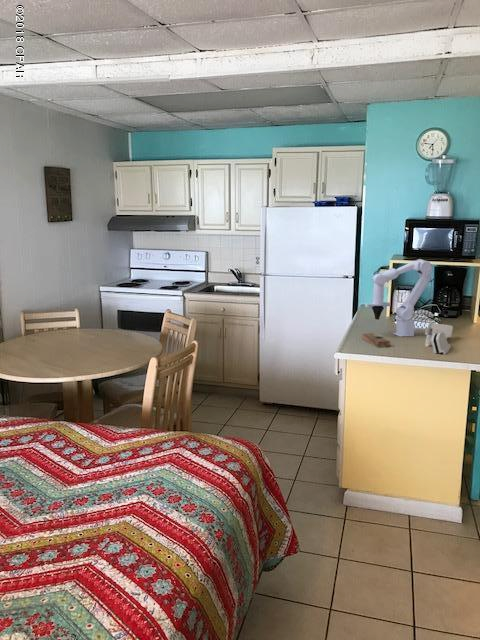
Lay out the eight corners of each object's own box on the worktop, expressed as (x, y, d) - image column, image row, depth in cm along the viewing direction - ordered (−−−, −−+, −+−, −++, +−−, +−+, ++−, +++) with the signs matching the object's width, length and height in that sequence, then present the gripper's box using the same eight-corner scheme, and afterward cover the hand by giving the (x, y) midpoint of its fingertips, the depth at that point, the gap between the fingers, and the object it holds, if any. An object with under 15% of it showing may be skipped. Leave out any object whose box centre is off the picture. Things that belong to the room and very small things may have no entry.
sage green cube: (379, 341, 289) (379, 334, 288) (382, 343, 285) (382, 336, 284) (372, 341, 288) (372, 334, 287) (375, 343, 284) (375, 336, 283)
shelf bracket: (421, 345, 280) (425, 322, 279) (441, 346, 298) (445, 324, 297) (431, 347, 276) (435, 324, 275) (451, 348, 294) (455, 326, 293)
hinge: (444, 354, 262) (439, 335, 262) (435, 356, 265) (429, 337, 264) (451, 347, 276) (446, 329, 276) (442, 349, 278) (437, 331, 278)
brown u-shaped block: (373, 338, 295) (373, 333, 294) (390, 346, 278) (390, 340, 277) (361, 339, 293) (362, 333, 292) (377, 347, 276) (378, 341, 275)
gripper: (386, 293, 302) (385, 317, 305) (363, 294, 299) (362, 318, 302) (392, 295, 296) (391, 319, 299) (369, 296, 292) (368, 320, 295)
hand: (377, 319), depth 300 cm, fingers closed
